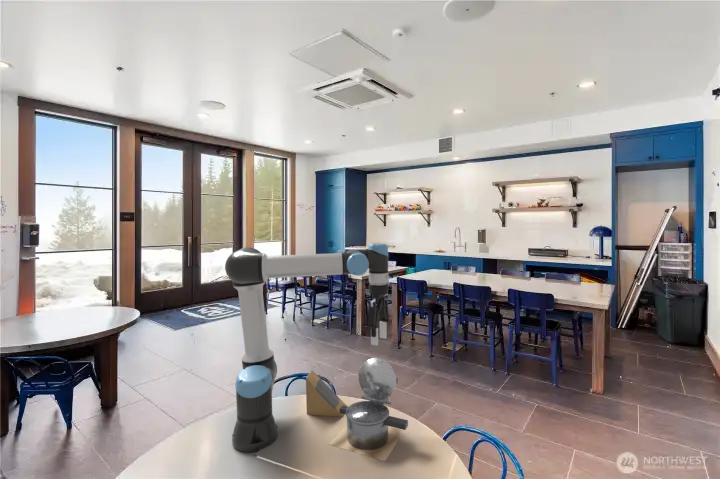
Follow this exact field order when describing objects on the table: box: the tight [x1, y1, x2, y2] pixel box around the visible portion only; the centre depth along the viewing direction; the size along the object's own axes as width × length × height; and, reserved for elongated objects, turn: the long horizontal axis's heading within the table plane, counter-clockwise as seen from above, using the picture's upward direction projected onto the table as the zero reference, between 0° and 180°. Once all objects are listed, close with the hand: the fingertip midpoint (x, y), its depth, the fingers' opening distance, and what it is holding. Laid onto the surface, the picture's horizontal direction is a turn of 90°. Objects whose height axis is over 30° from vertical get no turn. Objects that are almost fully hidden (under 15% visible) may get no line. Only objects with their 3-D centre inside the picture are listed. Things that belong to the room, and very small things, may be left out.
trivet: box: [328, 424, 405, 462], centre depth 126 cm, size 20×18×1 cm
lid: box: [358, 357, 399, 406], centre depth 133 cm, size 14×15×3 cm
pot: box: [340, 400, 409, 450], centre depth 125 cm, size 24×16×9 cm, turn 64°
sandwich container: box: [305, 369, 348, 417], centre depth 144 cm, size 9×15×15 cm, turn 83°
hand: (378, 341), depth 144 cm, fingers open, 8 cm apart
